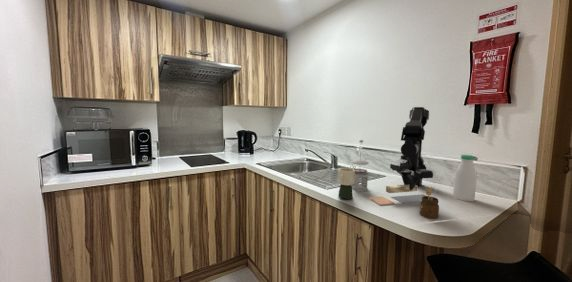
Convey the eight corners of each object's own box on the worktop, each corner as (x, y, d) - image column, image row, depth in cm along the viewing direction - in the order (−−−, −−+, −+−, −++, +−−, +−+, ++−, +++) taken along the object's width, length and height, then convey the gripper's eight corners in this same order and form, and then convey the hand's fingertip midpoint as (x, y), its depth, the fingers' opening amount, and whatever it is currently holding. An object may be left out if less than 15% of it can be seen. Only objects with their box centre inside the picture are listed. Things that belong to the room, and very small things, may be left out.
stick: (413, 189, 103) (413, 184, 103) (417, 191, 101) (417, 185, 100) (385, 191, 100) (386, 186, 99) (389, 193, 97) (389, 187, 97)
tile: (382, 196, 103) (368, 197, 101) (395, 202, 95) (380, 204, 94) (382, 200, 103) (368, 201, 102) (394, 206, 96) (380, 208, 94)
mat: (423, 195, 108) (423, 194, 108) (437, 201, 101) (437, 200, 100) (389, 197, 104) (390, 196, 104) (402, 204, 96) (402, 203, 96)
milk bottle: (478, 203, 99) (483, 157, 97) (457, 201, 101) (462, 156, 99) (468, 196, 107) (473, 154, 104) (449, 195, 108) (453, 153, 106)
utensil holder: (439, 216, 85) (442, 185, 84) (435, 221, 81) (438, 188, 79) (422, 211, 89) (424, 181, 88) (416, 216, 85) (419, 185, 84)
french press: (373, 190, 114) (376, 140, 111) (356, 193, 109) (358, 141, 106) (359, 185, 123) (361, 138, 120) (342, 187, 117) (344, 139, 115)
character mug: (343, 193, 110) (344, 166, 108) (357, 196, 105) (359, 168, 104) (332, 199, 101) (333, 170, 100) (347, 203, 97) (348, 173, 95)
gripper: (381, 150, 106) (379, 183, 108) (412, 158, 88) (409, 197, 90) (401, 150, 109) (399, 182, 111) (435, 157, 91) (432, 195, 93)
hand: (408, 188), depth 101 cm, fingers closed on stick, 2 cm apart
